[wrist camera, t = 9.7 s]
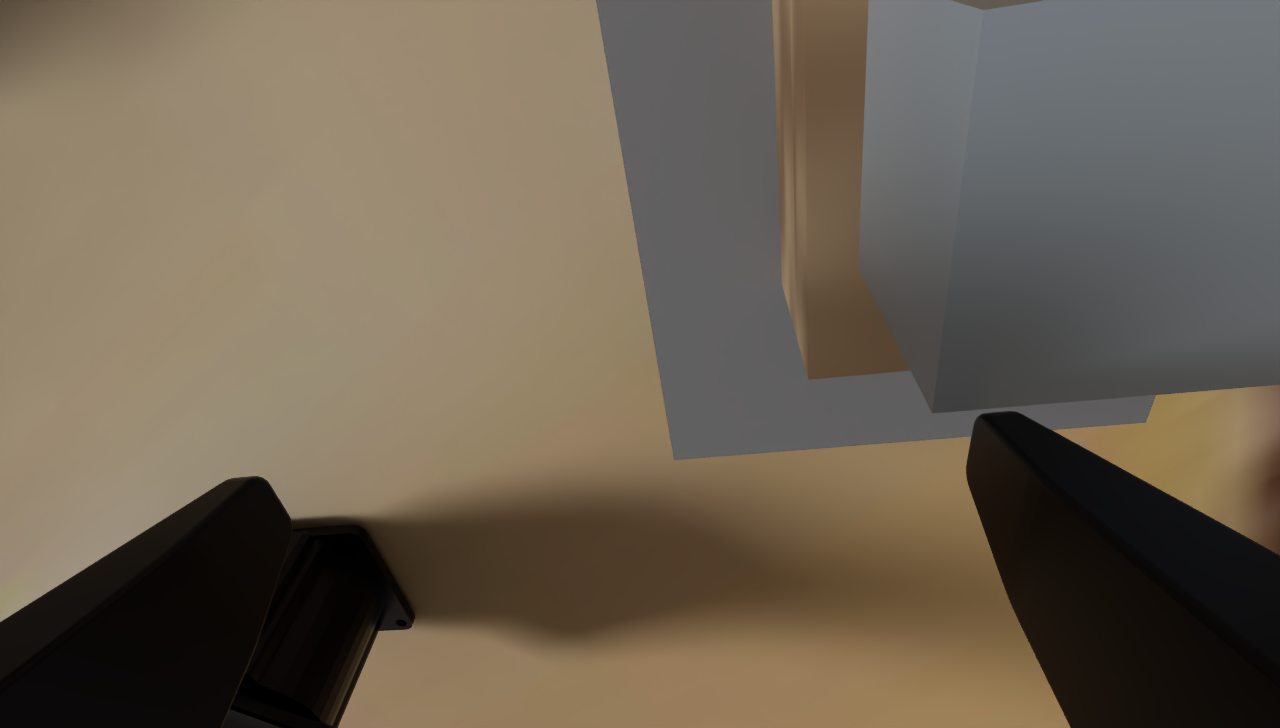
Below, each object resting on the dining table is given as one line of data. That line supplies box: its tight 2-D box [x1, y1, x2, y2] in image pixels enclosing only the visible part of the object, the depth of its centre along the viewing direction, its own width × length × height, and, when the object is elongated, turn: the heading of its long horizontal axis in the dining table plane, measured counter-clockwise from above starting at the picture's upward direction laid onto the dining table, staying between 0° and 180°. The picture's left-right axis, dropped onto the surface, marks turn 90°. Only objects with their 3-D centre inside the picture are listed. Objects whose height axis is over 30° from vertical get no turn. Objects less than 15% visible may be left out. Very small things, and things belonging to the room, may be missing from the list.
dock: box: [596, 0, 1156, 460], centre depth 14 cm, size 20×13×3 cm, turn 9°
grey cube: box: [858, 0, 1280, 413], centre depth 8 cm, size 4×4×4 cm
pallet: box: [772, 0, 910, 380], centre depth 11 cm, size 9×6×4 cm, turn 9°
